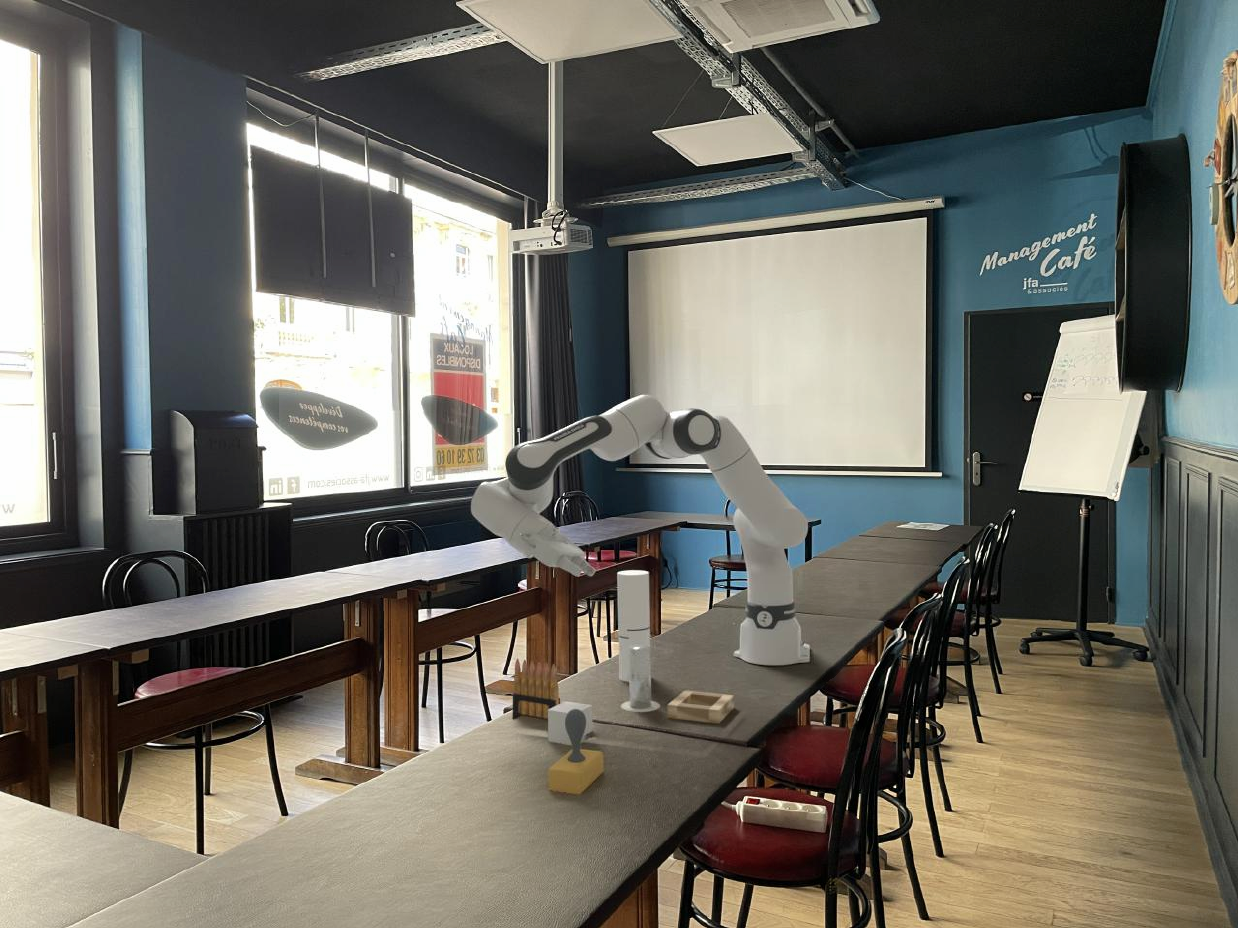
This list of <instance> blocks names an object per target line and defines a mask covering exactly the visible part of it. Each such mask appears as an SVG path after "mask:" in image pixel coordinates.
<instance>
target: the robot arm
mask: <svg viewBox="0 0 1238 928" xmlns="http://www.w3.org/2000/svg"><path fill="white" fill-rule="evenodd" d="M643 446H645V447H646V450H648V451H649V452H650V454H652V455H653V456H654V457H656V458H660V459H663V460H670V459H671V460H672V459H685V458H687V457H689V456H693V455H700V457H701V458H702V459H704V462H705V463H706V465H707V467H708V469H709V470H710V472H711V474H712V475H713V478H714V479H715V480H716V482H717V483H718V485H719V488H720V489H721V490H722V492H723V494H724V495H725V496H726V498H727V500H729V501H730V502H731V503H733V504H734V506H736V507H737V508H736V510H735V512H734V514H733V518H732V519H733V520H732V522H733V527H734V530H735V531H736V533H737V534H738V537H739V540H740V544H741V548H742V553H743V558H744V563H745V568H746V576H747V577H746V582H747V601H746V602H745V616H746V618H745V620H744V621H743V622H742V623H741V624H740V630H739V649H737V650H735V651H734V652H733V657H735V658H739V659H741V660H743V661H745V662H747V663H750V664H755V665H759V666H760V665H762V666H788V665H793V664H799V663H802V664H803V663H809V662H810V660H811V656H810V654H811V647H810V646H811V645H809V644H807V643H805V641H804V640H802V632H801V631H802V630H801V629H802V628H801V626H800V624H799V621H798V620H797V618H796V615H797V614H796V613H797V612H796V611H797V610H796V609H797V608H796V601H795V599H794V588H793V587H794V583H793V581H794V578H793V577H794V575H793V573H794V572H793V569H792V566H791V565H790V563H789V561H788V559H787V555H786V553H785V549H790V548H791V549H792V548H795V547H797V546H799V545H801V544H802V543H803V542H804V540H805V539H806V537H807V535H808V531H809V524H808V520H807V518H806V515H805V514H804V513H803V512H802V511H801V509H798V508H797V507H796V506H794V504H792V502H791V501H790V500H789V499H788V498H787V496H786V495H785V494H784V493H783V491H782V490H780V489H779V488H780V487H778V486H777V485H776V484H775V483H774V481H773V480H772V479H771V478H770V477H769V475H768V474H767V473H766V471H765V470H764V469H763V467H762V465H761V463H760V462H759V460H758V458H757V456H756V455H755V453H754V451H753V450H752V448H751V446H750V445H749V444H748V442H747V440H746V439H745V437H744V436H743V435H742V433H741V432H740V431H739V429H738V428H737V427H736V425H734V423H733V422H732V421H731V420H730V419H729V418H728V417H727V416H723V415H713V416H712V415H711V414H710V413H708V412H707V411H705V410H703V409H699V408H691V407H690V408H686V409H678V410H673V411H671V412H667V411H666V410H665V409H664V406H663V404H662V403H661V402H660V401H659V400H658V398H656V397H654V395H650V394H640V395H637V396H634V397H632V398H628V399H627V400H626V401H623V402H621V403H619V404H617V405H615V406H613V407H612V408H610V409H608V410H606V411H605V412H603V413H601V414H599V415H591V416H588V417H585V418H582V419H579V420H578V421H576V422H574V423H572V424H570V425H568V426H565V427H564V428H561V429H559V430H558V431H555V432H553V433H550V434H548V435H546V436H544V437H540V438H536V439H533V440H528V441H524V442H520V443H519V444H517V445H515V446H514V447H513V448H511V450H510V451H509V452H508V454H507V455H506V458H505V461H504V462H505V465H504V466H505V471H506V475H507V477H504V478H503V479H499V480H495V481H484V482H482V483H480V484H479V485H478V486H477V487H476V489H475V491H474V492H473V495H472V497H471V501H470V511H471V515H472V516H473V517H474V518H475V519H476V521H478V523H480V524H481V525H483V527H485V528H486V529H487V530H489V531H490V532H491V533H493V534H494V535H496V536H498V537H501V538H502V539H504V540H505V541H506V542H507V543H508V545H509V546H511V547H512V548H513V549H515V550H516V551H517V552H519V553H520V554H522V555H523V556H525V557H526V558H527V559H531V558H535V559H537V560H538V561H539V562H541V563H542V564H543V565H545V566H547V567H549V568H551V567H552V568H560V569H561V570H564V571H565V572H568V573H570V574H571V575H573V576H575V577H580V575H581V574H582V573H584V574H585V575H587V576H588V577H593V576H594V574H595V573H596V568H594V567H593V566H591V564H590V563H588V561H587V560H586V559H585V557H586V553H585V551H583V550H582V549H581V548H580V547H579V546H578V545H577V544H575V543H574V542H573V541H571V540H570V539H569V538H568V537H567V536H566V535H564V534H563V533H561V529H560V528H559V527H557V526H556V525H555V524H554V523H552V521H550V520H549V519H547V518H545V517H544V516H543V515H541V513H542V512H543V511H545V510H546V509H547V508H549V506H550V504H551V502H552V500H553V497H554V475H555V474H554V473H555V472H556V470H557V468H558V467H559V466H560V465H561V464H562V463H563V462H564V461H565V462H566V460H568V459H570V458H573V457H574V456H576V455H577V454H580V453H582V452H585V451H586V450H589V449H590V450H591V451H592V452H593V453H594V455H596V456H598V457H599V458H600V459H602V460H605V461H609V462H616V461H619V460H622V459H623V458H625V457H628V456H629V455H630V454H632V453H634V452H635V451H637V450H638V449H640V448H642V447H643Z"/></svg>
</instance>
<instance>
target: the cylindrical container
mask: <svg viewBox="0 0 1238 928" xmlns="http://www.w3.org/2000/svg"><path fill="white" fill-rule="evenodd" d="M616 574H617V576H616V578H617V622H618V623H617V625H618V628H617V629H618V634H617V635H618V672H619V673H618V677H619V680H621V681H622V682H626V683H629V647H630V646H633V645H647V646H650V647H651V621H650V620H651V619H650V618H651V616H650V612H651V611H650V572H649V571H646V570H640V569H639V570H638V569H637V570H635V569H631V570H630V569H629V570H621V571H618V572H617V573H616Z"/></svg>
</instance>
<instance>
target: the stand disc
mask: <svg viewBox="0 0 1238 928" xmlns="http://www.w3.org/2000/svg"><path fill="white" fill-rule="evenodd" d="M620 708H621V709H622V710H625V711H626V712H633V713H646V712H647V713H648V712H649V713H650V712H653V711H656V710H659V708H661V704H660V703H659V702H657V701H653V700H651V707H650V708H646V709H634V708H631V707H630V700H629V701H625V702H624V703H622V704H621V705H620Z"/></svg>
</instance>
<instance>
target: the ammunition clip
mask: <svg viewBox="0 0 1238 928" xmlns="http://www.w3.org/2000/svg"><path fill="white" fill-rule="evenodd" d="M515 660H516V661H515V664H514V679H513V693H512V719H513V720H516V719H518V718H520V717H522V716H525V717H530V718H535V719H542V720H545V721H546V720H547V721H548V710H549V709H551V708H553V707H555V706H557V705H559V704H561V698H560V696H559V694H560V693H559V684H558V670H557V667H556V665H555V663H553V664H552V666H551V671H550V668H549V664H548V663H547V662H545V664H544V668H543V667H542V663H541V661H538V662H537V666H536V667H535V663H534V661H533V660H531V661H530V662H529V663H530V664H529V668H528V663H527V660H526V659H524V660H523V662H522V666H521V664H520V663H521V662H520V660H519V658H516V659H515Z"/></svg>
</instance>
